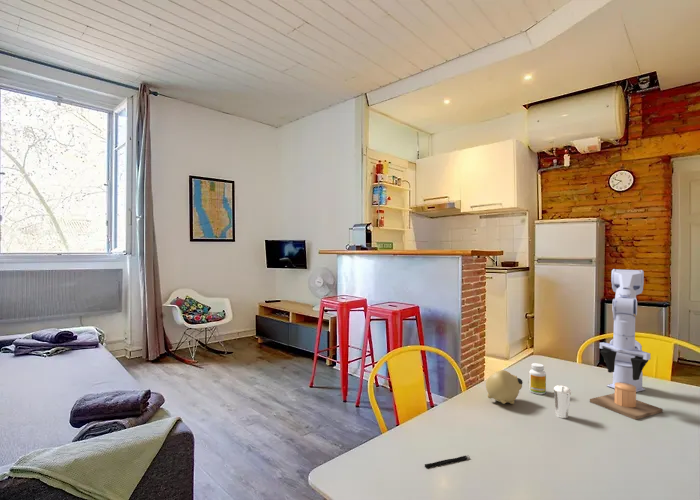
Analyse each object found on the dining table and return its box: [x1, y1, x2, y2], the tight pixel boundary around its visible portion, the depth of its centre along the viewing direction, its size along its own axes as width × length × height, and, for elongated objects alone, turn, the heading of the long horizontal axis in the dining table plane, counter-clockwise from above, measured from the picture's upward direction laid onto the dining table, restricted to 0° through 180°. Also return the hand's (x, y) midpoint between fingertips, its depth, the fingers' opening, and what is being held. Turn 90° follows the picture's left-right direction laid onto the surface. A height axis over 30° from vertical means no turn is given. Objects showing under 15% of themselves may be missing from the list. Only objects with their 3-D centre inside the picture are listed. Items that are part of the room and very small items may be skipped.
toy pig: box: [485, 370, 524, 405], centre depth 126 cm, size 10×12×11 cm
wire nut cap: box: [614, 382, 637, 408], centre depth 123 cm, size 6×6×6 cm
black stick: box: [424, 454, 471, 470], centre depth 90 cm, size 12×1×1 cm, turn 110°
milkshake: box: [553, 384, 572, 419], centre depth 115 cm, size 4×5×10 cm
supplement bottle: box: [528, 362, 547, 395], centre depth 135 cm, size 5×5×10 cm
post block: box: [589, 392, 663, 420], centre depth 123 cm, size 14×14×5 cm
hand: (623, 375), depth 124 cm, fingers open, 7 cm apart
